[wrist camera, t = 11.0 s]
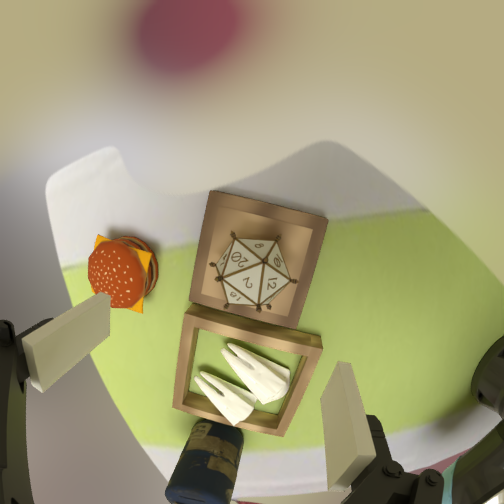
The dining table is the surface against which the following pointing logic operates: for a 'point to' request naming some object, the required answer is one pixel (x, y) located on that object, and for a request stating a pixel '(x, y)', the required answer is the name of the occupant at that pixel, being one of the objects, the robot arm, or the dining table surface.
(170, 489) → the canister
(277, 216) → the walnut board
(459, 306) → the dining table surface
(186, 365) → the oak frame
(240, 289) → the game die
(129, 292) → the hamburger
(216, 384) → the white folded napkins
